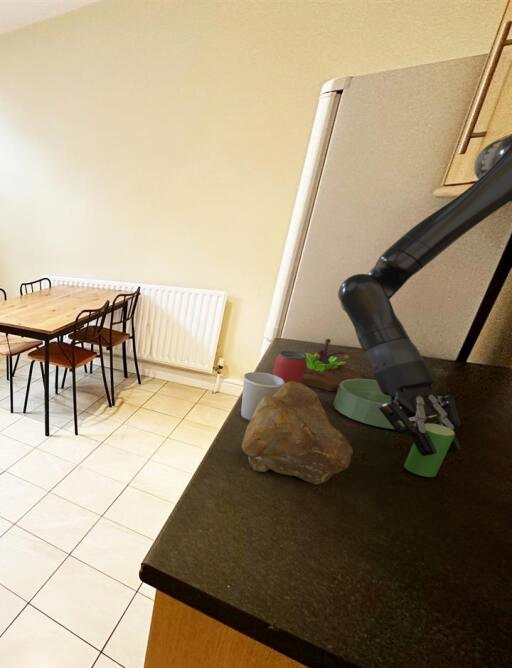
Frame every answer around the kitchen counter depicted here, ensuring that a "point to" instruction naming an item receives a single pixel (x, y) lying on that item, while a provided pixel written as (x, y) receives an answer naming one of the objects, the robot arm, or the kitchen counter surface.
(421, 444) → the robot arm
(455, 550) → the kitchen counter surface
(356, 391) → the bowl
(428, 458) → the green cylinder
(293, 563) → the kitchen counter surface
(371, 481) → the kitchen counter surface
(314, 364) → the plant
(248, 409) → the dixie cup
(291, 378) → the beer can
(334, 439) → the rough brown rock
